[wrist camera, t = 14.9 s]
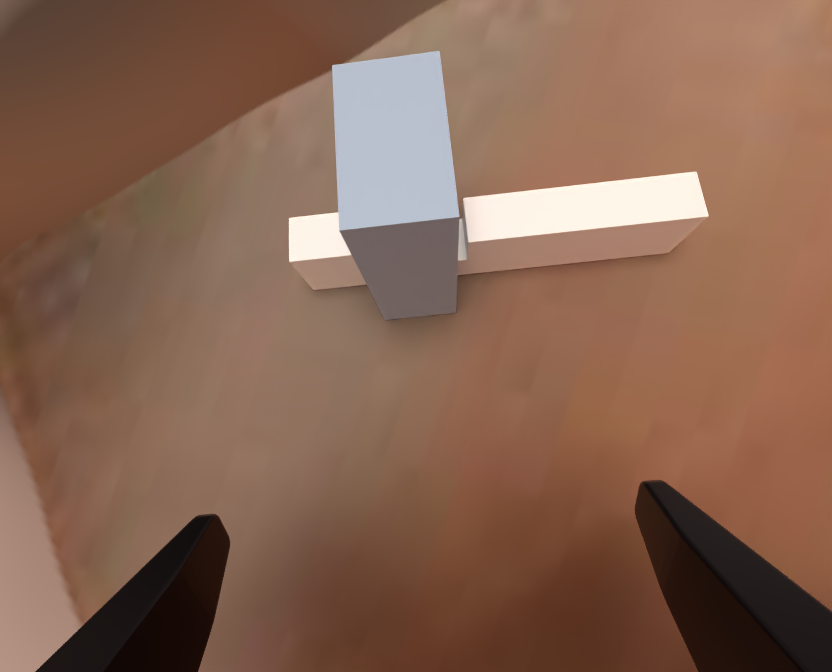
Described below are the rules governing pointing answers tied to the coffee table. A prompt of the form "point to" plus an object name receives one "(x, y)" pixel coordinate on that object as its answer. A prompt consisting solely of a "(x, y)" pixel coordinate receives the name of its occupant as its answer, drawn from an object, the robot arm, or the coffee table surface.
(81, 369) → the coffee table surface
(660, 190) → the slotted rail
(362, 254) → the slotted block
